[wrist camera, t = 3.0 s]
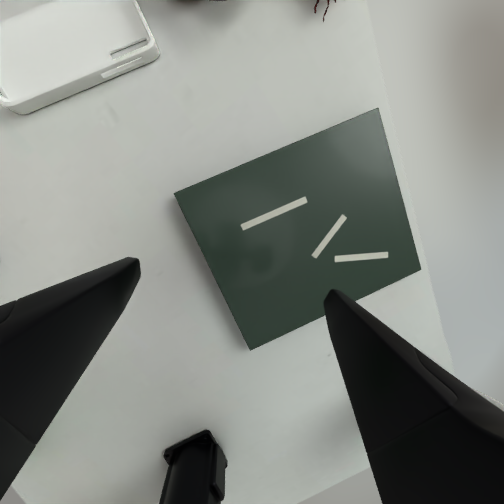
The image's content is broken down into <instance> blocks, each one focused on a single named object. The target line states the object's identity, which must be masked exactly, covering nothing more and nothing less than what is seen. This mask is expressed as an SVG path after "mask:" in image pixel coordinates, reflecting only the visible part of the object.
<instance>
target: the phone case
mask: <svg viewBox="0 0 504 504" xmlns="http://www.w3.org/2000/svg"><path fill="white" fill-rule="evenodd" d="M143 40H147V41H148V44H147V45H146V46H144V47H142V48H140V49H137V50H135V51H133V52H130V53H128V54H125V55H123V56H120V57H118V58H116V59H112V57H111V54H112V53H114V52H117V51H119V50H121V49H124V48H126V47H129V46H131V45H134V44H136V43H138V42H141V41H143ZM159 54H160V52H159V49H158V47H157V44H156V42H155V39H154V37H153V35H152V33H151V31H150V29H149V27H148V25H147V22H146V20H145V18H144V16H143V14H142V12H141V10H140V7H139V5H138V3H137V1H136V0H0V92H1V93H2V95H3V96H4V97H3V96H1V95H0V104H1V105H2V106H4V107H6V108H8V109H9V110H11V111H13V112H15V113H17V114H28V113H31V112H33V111H35V110H38V109H40V108H43V107H45V106H47V105H50V104H52V103H54V102H57V101H59V100H62V99H64V98H66V97H69V96H71V95H73V94H76V93H78V92H81V91H83V90H85V89H88V88H90V87H93V86H95V85H97V84H100V83H102V82H104V81H107V80H109V79H112V78H114V77H116V76H119V75H121V74H124V73H126V72H128V71H131V70H133V69H135V68H138V67H140V66H143V65H145V64H147V63H150V62H152V61H154V60H155V59H157V58H158V56H159ZM140 57H142V58H140ZM137 58H140V59H138V60H136V61H133V60H135V59H137ZM130 61H133V62H131V63H129V64H126V65H124V66H121V65H123V64H125V63H128V62H130ZM118 66H121V67H119V68H117V67H118Z"/></svg>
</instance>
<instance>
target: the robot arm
mask: <svg viewBox="0 0 504 504" xmlns="http://www.w3.org/2000/svg"><path fill="white" fill-rule="evenodd" d="M140 276H141V270H140V261H139V259H137V258H132V257H126V258H124V259H121V260H119V261H116V262H113V263H111V264H108V265H106V266H103V267H100V268H98V269H95V270H93V271H90V272H87V273H85V274H82V275H80V276H77V277H74V278H72V279H69V280H67V281H64V282H61V283H59V284H56V285H54V286H51V287H48V288H46V289H43V290H41V291H38V292H35V293H33V294H30V295H28V296H25V297H22V298H20V299H18V300H17V301H16V300H15V301H12V302H9V303H7V304H4V305H1V306H0V500H1V499H2V497H3V496H4V494H5V493H6V491H7V490H8V488H9V487H10V485H11V483H12V482H13V480H14V479H15V477H16V476H17V474H18V473H19V471H20V470H21V468H22V467H23V465H24V463H25V462H26V460H27V459H28V457H29V456H30V454H31V453H32V451H33V450H34V448H35V446H36V444H37V443H38V442H39V440H40V439H41V437H42V435H43V434H44V432H45V431H46V429H47V428H48V426H49V425H50V423H51V422H52V420H53V419H54V417H55V415H56V414H57V412H58V411H59V409H60V408H61V406H62V405H63V403H64V402H65V400H66V399H67V397H68V395H69V394H70V392H71V391H72V389H73V388H74V386H75V385H76V383H77V382H78V380H79V379H80V377H81V375H82V374H83V372H84V371H85V369H86V368H87V366H88V365H89V363H90V362H91V360H92V359H93V357H94V355H95V354H96V352H97V351H98V349H99V348H100V346H101V345H102V343H103V342H104V340H105V339H106V337H107V335H108V334H109V332H110V331H111V329H112V328H113V326H114V325H115V323H116V322H117V320H118V319H119V317H120V316H121V314H122V312H123V311H124V309H125V307H126V305H127V303H128V301H129V299H130V297H131V295H132V293H133V291H134V289H135V287H136V285H137V283H138V281H139V279H140ZM323 305H324V310H325V315H326V320H327V325H328V330H329V334H330V337H331V341H332V344H333V347H334V350H335V353H336V357H337V360H338V363H339V366H340V369H341V373H342V376H343V379H344V382H345V385H346V389H347V392H348V395H349V398H350V401H351V404H352V408H353V411H354V414H355V417H356V420H357V424H358V427H359V430H360V433H361V436H362V440H363V443H364V446H365V449H366V452H367V453H368V454H367V456H368V459H369V462H370V466H371V469H372V472H373V475H374V478H375V481H376V485H377V488H378V491H379V494H380V497H381V500H382V503H383V504H504V411H503V410H501V409H500V408H498V407H497V406H495V405H494V404H493V403H491V402H490V401H488V400H487V399H485V398H484V397H483V396H481V395H480V394H478V393H477V392H476V391H474V390H473V389H471V388H470V387H468V386H467V385H466V384H464V383H463V382H461V381H460V380H458V379H457V378H456V377H454V376H453V375H451V374H450V373H449V372H447V371H446V370H445V369H443V368H442V367H440V366H439V365H438V364H436V363H435V362H434V361H432V360H431V359H430V358H428V357H427V356H426V355H424V354H423V353H422V352H420V351H419V350H418V349H416V348H415V347H413V346H412V345H411V344H410V343H408V342H407V341H406V340H405V339H403V338H402V337H401V336H399V335H398V334H397V333H395V332H394V331H393V330H391V329H390V328H389V327H388V326H386V325H385V324H384V323H382V322H381V321H380V320H378V319H377V318H376V317H374V316H373V315H372V314H370V313H369V312H368V311H367V310H365V309H364V308H363V307H361V306H360V305H359V304H357V303H356V302H355V301H353V300H352V299H351V298H350V297H348V296H347V295H346V294H344V293H343V292H342V291H340V290H336V289H331V290H330V291H329V293H328V294H327V296H326V298H325V299H324V303H323ZM163 457H164V459H165V460H166V462H167V463H168V465H169V467H168V471H167V474H166V478H165V482H164V486H163V490H162V494H161V498H160V502H159V504H221V501H222V500H223V499H224V496H225V468H227V460H226V458H225V455H224V453H223V451H222V450H221V448H220V446H219V445H218V443H216V441H215V439H214V437H213V436H212V434H211V432H210V431H209V430H205V431H203V432H201V433H199V434H197V435H195V436H193V437H191V438H189V439H187V440H185V441H183V442H181V443H179V444H177V445H175V446H173V447H170V448H168V449H166V450H165V452H164V456H163Z"/></svg>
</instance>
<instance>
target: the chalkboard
mask: <svg viewBox="0 0 504 504" xmlns="http://www.w3.org/2000/svg"><path fill="white" fill-rule="evenodd" d="M174 195H175V197H176V199H177V201H178V203H179V205H180V207H181V210H182V212H183V214H184V216H185V218H186V220H187V222H188V224H189V226H190V228H191V230H192V232H193V234H194V236H195V238H196V240H197V242H198V244H199V247H200V249H201V251H202V253H203V255H204V257H205V259H206V261H207V263H208V265H209V267H210V269H211V271H212V273H213V275H214V277H215V279H216V281H217V284H218V286H219V288H220V290H221V292H222V294H223V296H224V298H225V300H226V302H227V304H228V306H229V308H230V310H231V312H232V314H233V316H234V319H235V321H236V323H237V325H238V327H239V329H240V331H241V333H242V335H243V337H244V339H245V341H246V343H247V345H248V347H249V349H250V351H251V350H253V349H255V348H257V347H259V346H261V345H263V344H265V343H267V342H270V341H272V340H274V339H276V338H278V337H280V336H282V335H284V334H286V333H289V332H291V331H293V330H295V329H297V328H299V327H301V326H303V325H305V324H308V323H310V322H312V321H314V320H316V319H318V318H320V317H322V316H324V315H325V310H324V305H323V303H324V299H325V298H326V296H327V294H328V293H329V291H330V290H331V289H336V290H340V291H342V292H343V293H344V294H346V295H347V296H348V297H350V298H351V299H352V300H353V301H356V300H358V299H360V298H363V297H365V296H367V295H369V294H371V293H373V292H375V291H377V290H379V289H382V288H384V287H386V286H388V285H390V284H392V283H394V282H396V281H398V280H401V279H403V278H405V277H407V276H409V275H411V274H413V273H415V272H417V271H420V270H421V266H420V263H419V259H418V255H417V251H416V247H415V244H414V240H413V236H412V232H411V229H410V225H409V221H408V217H407V214H406V210H405V206H404V202H403V199H402V195H401V191H400V187H399V184H398V180H397V176H396V172H395V168H394V165H393V161H392V157H391V153H390V150H389V146H388V142H387V138H386V135H385V131H384V127H383V123H382V120H381V116H380V112H379V108H376V109H374V110H371V111H369V112H366V113H364V114H362V115H359V116H357V117H355V118H352V119H350V120H347V121H345V122H343V123H340V124H338V125H335V126H333V127H331V128H328V129H326V130H324V131H321V132H319V133H316V134H314V135H312V136H309V137H307V138H304V139H302V140H300V141H297V142H295V143H293V144H290V145H288V146H285V147H283V148H281V149H278V150H276V151H273V152H271V153H269V154H266V155H264V156H262V157H259V158H257V159H254V160H252V161H250V162H247V163H245V164H242V165H240V166H238V167H235V168H233V169H231V170H228V171H226V172H223V173H221V174H219V175H216V176H214V177H211V178H209V179H207V180H204V181H202V182H199V183H197V184H195V185H192V186H190V187H188V188H185V189H183V190H180V191H178V192H176V193H174Z"/></svg>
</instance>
